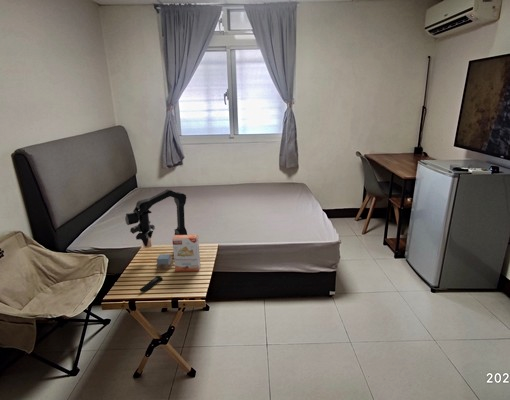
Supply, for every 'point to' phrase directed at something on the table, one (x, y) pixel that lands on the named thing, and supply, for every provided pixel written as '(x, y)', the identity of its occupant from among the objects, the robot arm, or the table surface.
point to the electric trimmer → (151, 283)
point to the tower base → (164, 265)
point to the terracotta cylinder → (148, 243)
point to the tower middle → (163, 259)
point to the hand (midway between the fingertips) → (147, 244)
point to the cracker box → (186, 252)
